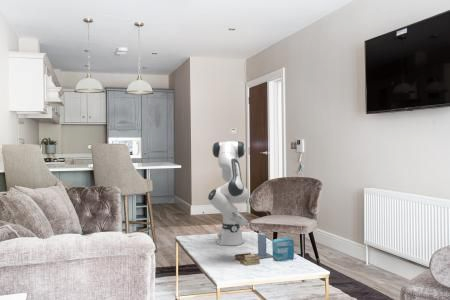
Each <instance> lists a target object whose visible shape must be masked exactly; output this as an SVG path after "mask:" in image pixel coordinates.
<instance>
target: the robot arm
mask: <svg viewBox="0 0 450 300" xmlns="http://www.w3.org/2000/svg"><path fill="white" fill-rule="evenodd" d="M211 151H212V155H213V157H215V158H217V162H218V166H219V167H220V168H221V178H222V179H223V180H224V181H225V182H226V183H224V184H222V185H220V186H219V187H216V188H214V189H212V190H211V191H210V192H209V194H208V198H207V199H208V200H209V201H208V202H209V203H210V204H211V205H212V206H213V207H214V208H215V209H216V210H217V211H219V212H220V215H222V224H221V229H220V230H219V232H218V233H217V238H216V239H215V241H216V244H218V245H219V246H239V245H242V244H243V243H245V240H244V239H243V231H242V230H241V229H240V228H241V227H245V228H246V230H249V229H250V227H251V226H250V225H249V221H248V219H246V218H245V217H244V216H243V215H242V214H241V213H240V212H239V210H238V207H236V206H235V205H234V204H240V203H243V202H247V201H248V200H249V198H250V191H249V189H248V188H247V187H245V186H244V183H243V180H242V171H241V166H240V162H239V161H238V159H240V158H243V157H244V156H245V153H246V146H245V143H244V142H243V141H234V140H232V141H231V140H228V141H217V142H214V143H213V145H212V147H211Z"/></svg>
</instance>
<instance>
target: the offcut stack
mask: <svg viewBox="0 0 450 300" xmlns="http://www.w3.org/2000/svg"><path fill="white" fill-rule="evenodd" d="M260 262H261V261H260V259H259V258H258V257H256V256H255V255H244V261H242V263H241V264H242V265H244V266H252V265H260Z"/></svg>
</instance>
